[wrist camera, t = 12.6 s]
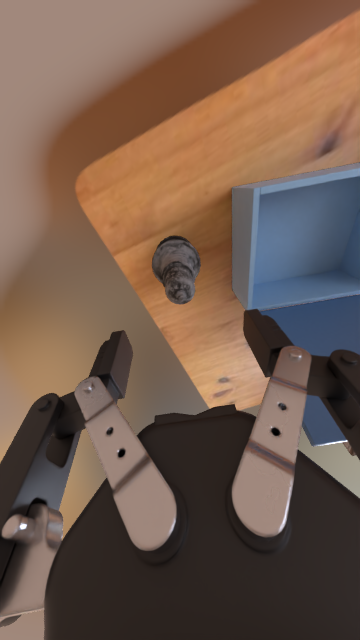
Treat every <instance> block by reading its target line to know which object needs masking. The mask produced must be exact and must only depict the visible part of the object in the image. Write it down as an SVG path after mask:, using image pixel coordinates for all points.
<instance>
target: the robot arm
mask: <svg viewBox="0 0 360 640" xmlns="http://www.w3.org/2000/svg"><path fill="white" fill-rule="evenodd" d="M243 331H244V336H245V338H246V340H247V342H248V344H249V346H250V348H251V350H252V352H253V354H254V356H255V358H256V360H257V362H258V364H259V366H260V368H261V370H262V371H263V373H264V375H265V377H270V380H269V383H268V386H267V388H266V391H265V394H264V397H263V400H262V403H261V406H260V409H259V412H258V415H257V417H255V416H254V415H252V414H249V413H246V412H243V411H238V410H236V407H235V404H232V405H225V406H218V407H213V408H211V409H209V410H206V411H204V412H202V413H199V414H197V415H187V414H179V413H170V414H163V415H156V416H155V422H154V423H152V424H150V425H148V426H147V427H145V428H144V429H143V430H142V431H141V432H140V433H139V434H138V435H137V436H136V435H135V433H134V431H133V429H132V428H131V426H130V425H129V423H128V422H127V420H126V419H125V417H124V415H123V414H122V412H121V411H120V409H119V408H118V406H117V400H118V399H122V398H124V397H125V393H126V387H127V382H128V377H129V371H130V366H131V361H132V356H133V351H132V347H131V344H130V342H129V339H128V337H127V335H126V333H125V331H124V330H123V331H117V332H113V333H112V334H111V337H110V339H109V340H108V341H105V342H104V343H103V345H102V346H101V347H100V350H99V352H98V355H97V357H96V360H95V362H94V365H93V367H92V370H91V372H90V375H89V377H88V378H86V379H84V380H83V381H82V382H80V383H79V385H78V386H77V387H76V389H75V391H74V392H71V393H69V394H67V395H64V396H62V397H59V396H58V395H57V394H54V393H49V394H46V395H44V396H42V397H41V398H39V399H38V400H37V401H36V402H35V403H34V404H33V405H32V407H31V408H30V410H29V412H28V414H27V415H26V417H25V419H24V421H23V423H22V425H21V426H20V428H19V430H18V432H17V434H16V436H15V437H14V439H13V441H12V443H11V445H10V447H9V448H8V450H7V452H6V454H5V456H4V458H3V460H2V461H1V463H0V627H2V626H7V625H10V624H12V623H13V622H15V621H16V620H17V619H18V618H19V617H20V616H21V615H22V614H26V613H30V612H35V611H40V610H44V624H45V631H44V640H360V498H358V497H357V496H356V495H355V494H354V493H352V492H351V491H350V490H348V489H347V488H346V487H345V486H343V485H342V484H341V483H340V482H338V481H337V480H336V479H335V478H333V477H332V476H331V475H330V474H328V473H327V472H326V471H325V470H323V469H322V468H321V467H320V466H318V465H317V464H316V463H315V462H313V461H312V460H311V459H310V458H308V457H307V456H306V455H305V454H303V453H302V452H301V451H299V450H298V444H299V438H300V433H301V427H302V421H303V415H304V409H305V404H306V398H307V395H312V396H319V398H320V399H321V401H322V402H323V404H324V405H325V407H326V408H327V410H328V412H329V413H330V415H331V416H332V418H333V419H334V421H335V422H336V424H337V426H338V427H339V429H340V430H341V432H342V433H343V435H344V436H345V438H346V440H347V441H348V443H349V444H350V446H351V447H352V449H353V450H354V452H355V454H356V455H357V457H358V458H359V460H360V355H359V354H357V353H355V352H352V351H349V350H343V349H339V350H335V351H333V352H332V353H331V355H330V357H329V356H318V355H310V353H309V352H308V351H306V350H305V349H303V348H301V347H298V346H295V345H294V344H293V343H292V342H291V340H290V339H289V338H288V337H287V335H286V334H285V333H284V332H283V330H281V328H280V327H279V325H278V324H277V323H276V321H275V320H274V319H273V318H271V317H269V316H268V315H262V314H261V313H260V312H259V310H258V309H251V310H245V311H244V326H243ZM85 428H86V429H87V431H88V434H89V436H90V438H91V441H92V443H93V445H94V448H95V450H96V452H97V455H98V457H99V459H100V462H101V464H102V466H103V469H104V471H105V474H106V476H107V478H106V479H105V480H104V482H103V483H102V485H101V486H100V487H99V489H98V490H97V492H96V493H95V494H94V496H93V497H92V499H91V500H90V502H89V503H88V504H87V506H86V507H85V508H84V510H83V511H82V513H81V514H80V516H79V517H78V518H77V520H76V521H75V523H74V524H73V525H72V527H71V528H70V530H69V531H68V533H67V534H66V535H65V537H64V539H63V540H62V536H63V531H62V528H63V517H62V514H61V513H60V512H59V507H60V504H61V500H62V497H63V494H64V490H65V487H66V483H67V480H68V476H69V473H70V469H71V466H72V462H73V459H74V455H75V452H76V448H77V445H78V441H79V438H80V434H81V431H82V430H83V429H85ZM50 438H51V439H50ZM48 443H49V444H48Z"/></svg>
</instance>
